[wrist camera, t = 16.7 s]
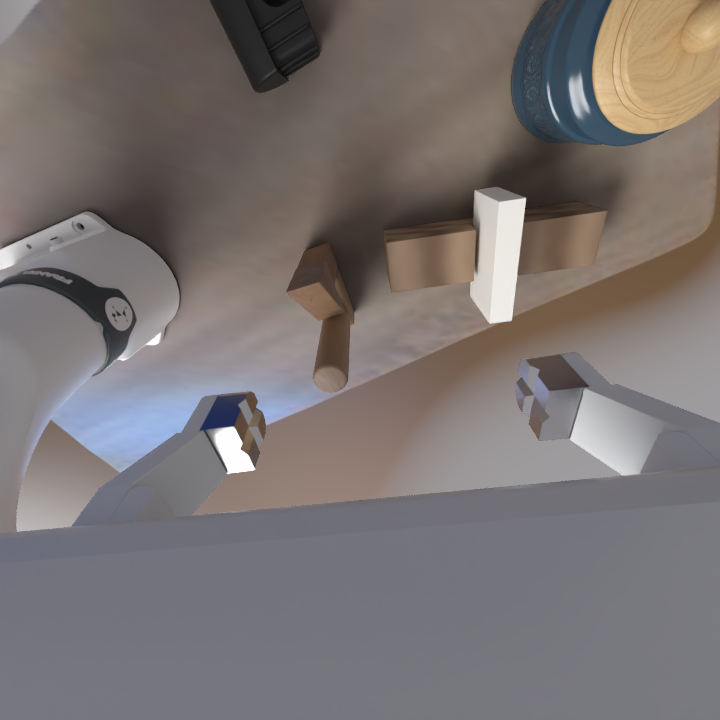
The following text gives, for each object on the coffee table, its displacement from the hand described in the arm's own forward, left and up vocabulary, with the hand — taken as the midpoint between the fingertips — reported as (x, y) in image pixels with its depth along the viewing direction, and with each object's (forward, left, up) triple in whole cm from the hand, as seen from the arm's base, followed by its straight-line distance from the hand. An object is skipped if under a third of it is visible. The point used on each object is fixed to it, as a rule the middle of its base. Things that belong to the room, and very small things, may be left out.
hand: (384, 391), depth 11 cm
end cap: (-7, +17, -37) cm, 42 cm away
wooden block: (-6, -10, -37) cm, 39 cm away
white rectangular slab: (+14, -7, -35) cm, 38 cm away
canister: (+23, +9, -37) cm, 45 cm away
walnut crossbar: (+14, -7, -37) cm, 40 cm away
